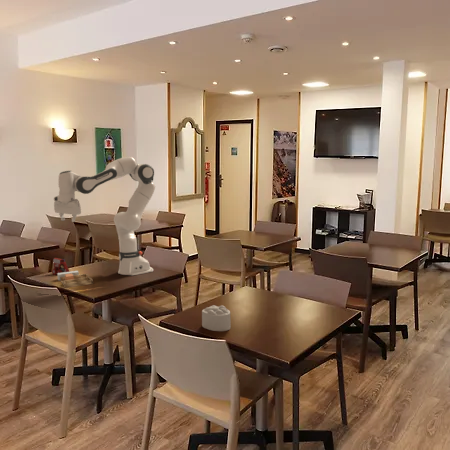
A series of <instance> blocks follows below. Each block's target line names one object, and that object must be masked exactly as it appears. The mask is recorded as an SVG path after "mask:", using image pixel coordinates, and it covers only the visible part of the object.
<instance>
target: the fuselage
mask: <svg viewBox="0 0 450 450" xmlns="http://www.w3.org/2000/svg"><path fill="white" fill-rule="evenodd" d="M65 274H73V275H80V272H79V270H72V271H69V272H63V273H57V274H56V275H57V280H58V281H60V282H61V279H60V277H65Z"/></svg>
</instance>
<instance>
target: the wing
mask: <svg viewBox="0 0 450 450" xmlns="http://www.w3.org/2000/svg"><path fill="white" fill-rule="evenodd" d="M71 279H74V276H73V274H65V280H71Z"/></svg>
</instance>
